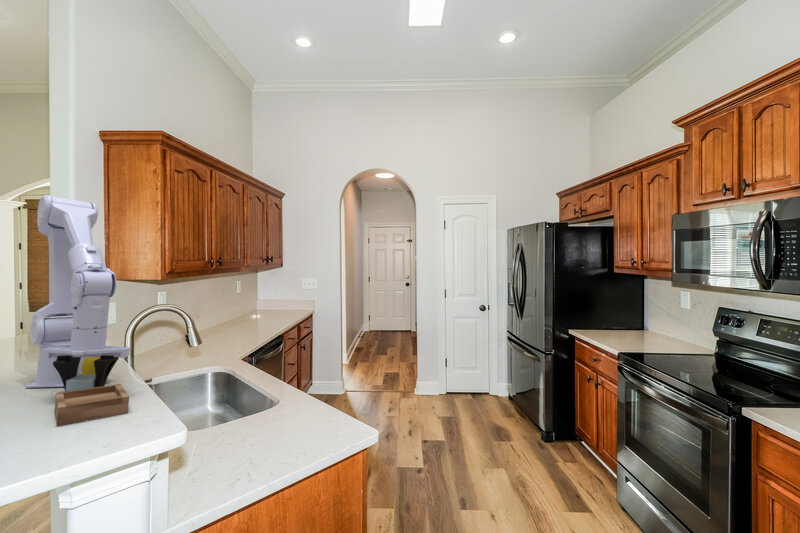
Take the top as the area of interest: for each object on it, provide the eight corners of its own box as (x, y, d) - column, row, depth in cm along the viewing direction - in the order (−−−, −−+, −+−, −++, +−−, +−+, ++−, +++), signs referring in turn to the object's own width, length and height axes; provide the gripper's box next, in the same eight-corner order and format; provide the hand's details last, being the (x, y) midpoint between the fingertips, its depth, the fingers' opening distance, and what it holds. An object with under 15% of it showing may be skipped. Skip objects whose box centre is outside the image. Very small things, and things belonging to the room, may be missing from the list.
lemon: (92, 388, 82) (95, 353, 82) (73, 385, 83) (76, 350, 83) (116, 381, 87) (119, 348, 88) (98, 379, 89) (100, 346, 89)
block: (77, 395, 77) (79, 374, 77) (102, 394, 78) (104, 374, 78) (64, 402, 73) (66, 380, 73) (90, 401, 74) (92, 380, 74)
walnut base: (54, 409, 69) (55, 392, 69) (119, 398, 76) (120, 383, 76) (56, 426, 62) (58, 407, 62) (127, 413, 69) (129, 396, 69)
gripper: (34, 329, 70) (28, 399, 70) (120, 330, 74) (115, 396, 74) (57, 324, 77) (52, 388, 77) (135, 325, 81) (131, 386, 80)
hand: (84, 391), depth 76 cm, fingers closed on block, 4 cm apart
